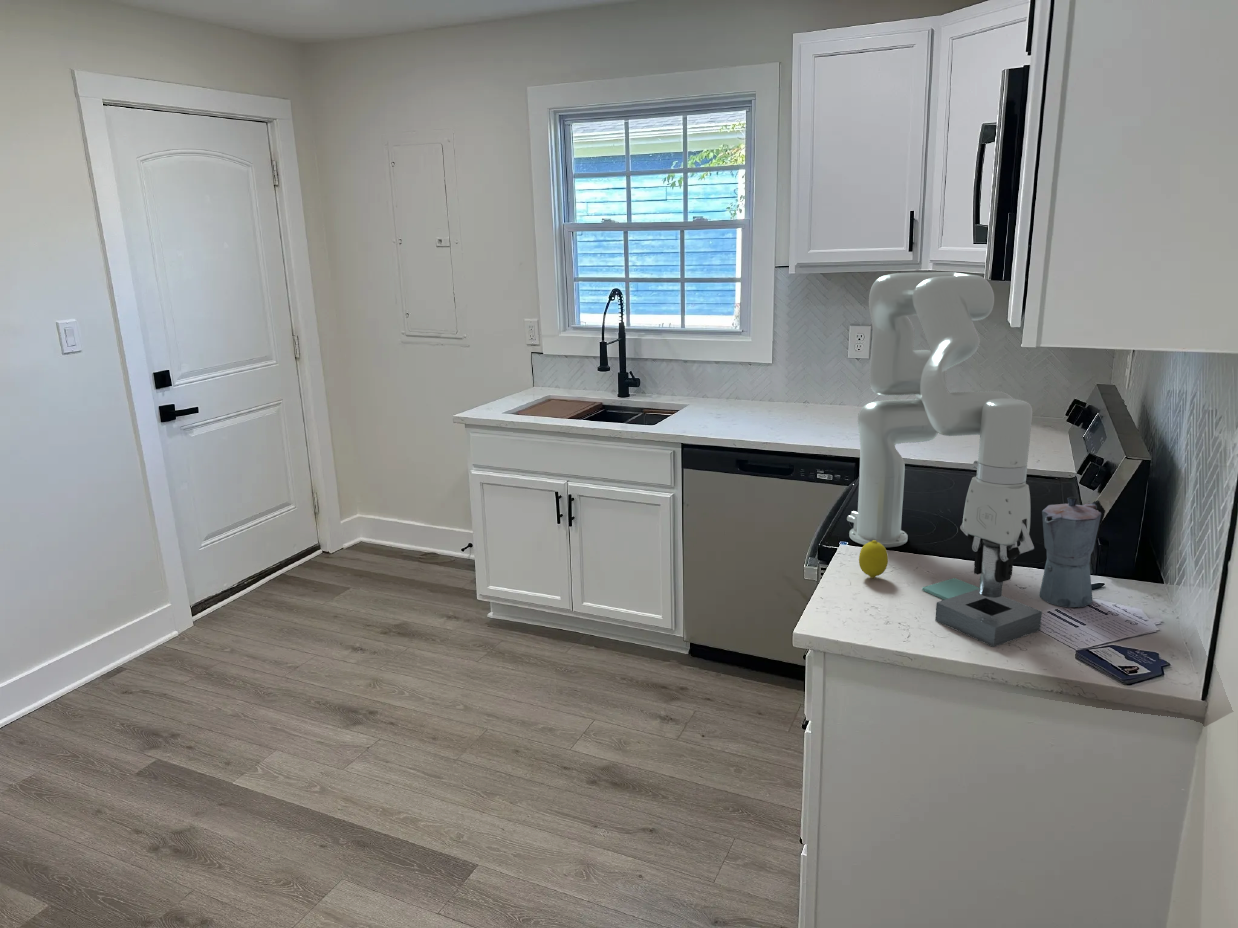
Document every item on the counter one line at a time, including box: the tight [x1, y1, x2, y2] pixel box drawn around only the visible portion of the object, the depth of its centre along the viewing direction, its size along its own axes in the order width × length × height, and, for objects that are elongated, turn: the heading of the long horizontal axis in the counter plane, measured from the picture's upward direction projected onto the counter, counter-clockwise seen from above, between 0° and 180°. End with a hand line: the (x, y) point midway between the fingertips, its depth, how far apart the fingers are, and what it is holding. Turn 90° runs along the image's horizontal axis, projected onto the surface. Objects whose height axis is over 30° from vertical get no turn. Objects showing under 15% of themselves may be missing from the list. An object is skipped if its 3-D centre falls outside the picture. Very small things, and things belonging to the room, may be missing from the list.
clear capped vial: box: [979, 539, 1004, 598], centre depth 144 cm, size 4×4×10 cm
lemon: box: [858, 540, 889, 579], centre depth 168 cm, size 6×6×8 cm
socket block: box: [934, 589, 1043, 648], centre depth 147 cm, size 12×12×4 cm
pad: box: [921, 577, 980, 600], centre depth 161 cm, size 9×9×1 cm
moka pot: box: [1039, 496, 1106, 608], centre depth 155 cm, size 10×15×20 cm, turn 119°
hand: (992, 575), depth 145 cm, fingers closed on clear capped vial, 3 cm apart
